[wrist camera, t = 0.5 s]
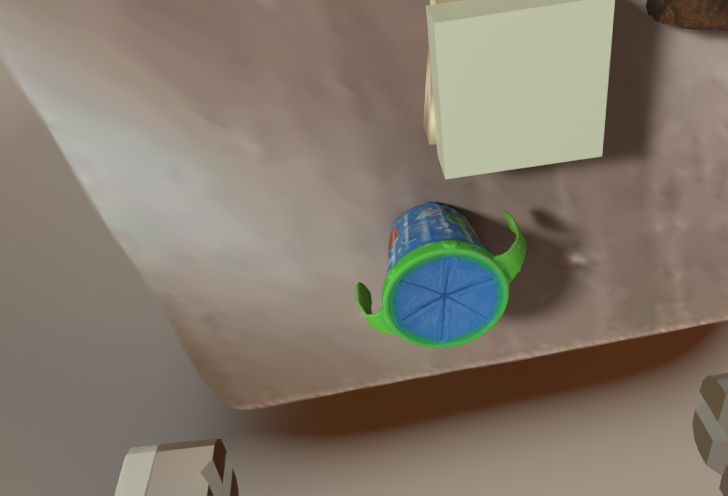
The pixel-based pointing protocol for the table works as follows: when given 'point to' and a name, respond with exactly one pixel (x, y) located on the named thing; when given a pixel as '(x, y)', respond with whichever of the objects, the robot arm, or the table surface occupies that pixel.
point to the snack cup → (442, 279)
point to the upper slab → (518, 82)
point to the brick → (690, 13)
